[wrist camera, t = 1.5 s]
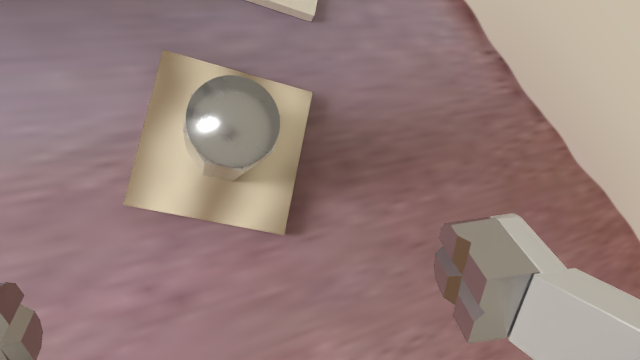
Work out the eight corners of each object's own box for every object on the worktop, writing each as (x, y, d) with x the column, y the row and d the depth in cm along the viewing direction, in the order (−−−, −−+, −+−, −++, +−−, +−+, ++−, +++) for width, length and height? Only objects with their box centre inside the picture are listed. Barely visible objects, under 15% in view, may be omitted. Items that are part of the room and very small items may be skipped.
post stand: (127, 205, 32) (107, 202, 25) (164, 59, 34) (156, 16, 26) (279, 234, 35) (300, 238, 28) (306, 98, 37) (333, 70, 29)
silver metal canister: (181, 170, 31) (175, 154, 23) (197, 102, 32) (197, 63, 24) (251, 185, 33) (270, 175, 25) (265, 120, 33) (288, 89, 25)
